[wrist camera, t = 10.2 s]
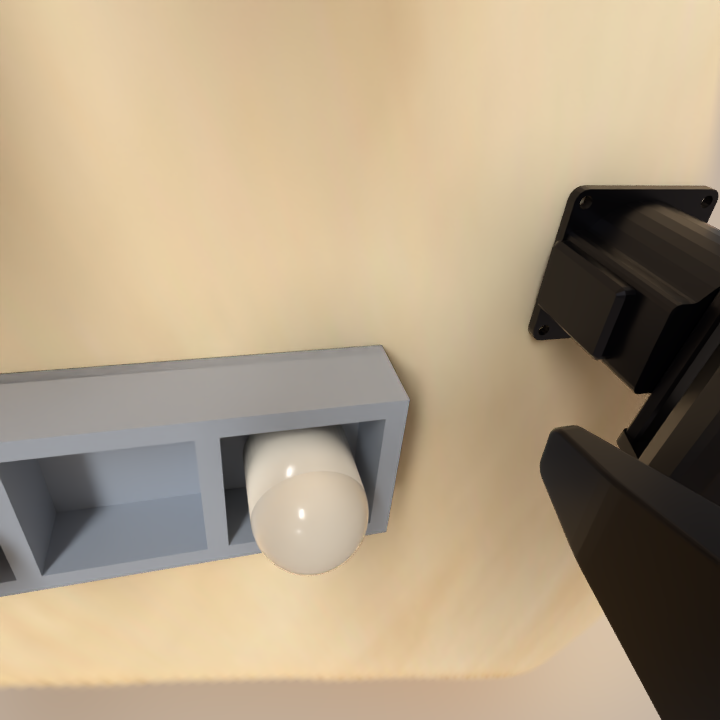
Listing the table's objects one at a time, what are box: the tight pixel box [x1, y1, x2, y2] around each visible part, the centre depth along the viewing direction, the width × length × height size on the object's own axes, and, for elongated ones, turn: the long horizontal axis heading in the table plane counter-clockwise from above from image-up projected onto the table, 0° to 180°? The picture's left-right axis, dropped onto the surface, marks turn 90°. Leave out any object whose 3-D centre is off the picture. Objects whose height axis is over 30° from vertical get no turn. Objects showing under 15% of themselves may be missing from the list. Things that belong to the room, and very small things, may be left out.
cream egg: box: [243, 424, 369, 576], centre depth 20 cm, size 4×4×6 cm
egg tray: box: [0, 345, 410, 597], centre depth 20 cm, size 21×7×4 cm, turn 85°
